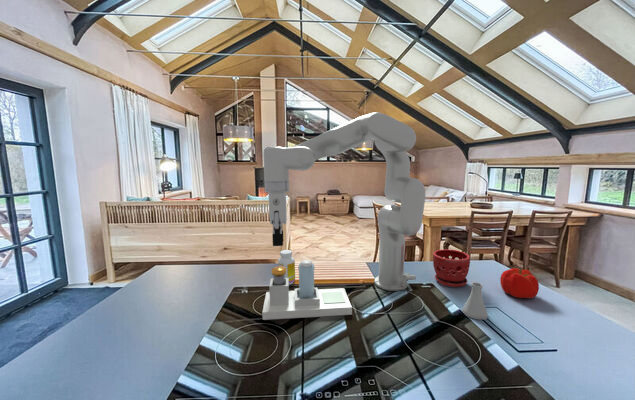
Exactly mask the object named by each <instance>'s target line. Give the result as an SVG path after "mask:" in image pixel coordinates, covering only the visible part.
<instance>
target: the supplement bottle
mask: <svg viewBox="0 0 635 400" xmlns="http://www.w3.org/2000/svg"><path fill="white" fill-rule="evenodd" d="M279 254H280V257H279V258H278V260H277V265H278V266H283V267H285V268H286V274H285V278H289V286H291V285H293V284H294V283H295V282H294V280H295V281H296V263H295V262H296V261H295V257H293V256H292V255H293V251H292V250H290V249H284V250H280V253H279ZM293 282H294V283H293Z"/></svg>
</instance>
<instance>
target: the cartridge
mask: <svg viewBox="0 0 635 400" xmlns="http://www.w3.org/2000/svg"><path fill="white" fill-rule="evenodd" d="M298 288H299V299H306V298H314V288H315V263H313V261H312V260H310V259H304V260H301V261H300V262H299V264H298Z"/></svg>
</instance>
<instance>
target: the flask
mask: <svg viewBox="0 0 635 400" xmlns="http://www.w3.org/2000/svg"><path fill="white" fill-rule="evenodd" d="M470 286H471V290H470V291H471V292H470V295H469V296H468V298H467V300H466V302H465V304H464V306H463V307H462V309H461V312H462V313H463V314H464V315H465V316H466V317H469V318H471V319H474V320H487V319H488V312H487V308H486V305H485V301H484V299H483V294H482V289H483V287H484V284H482V283H480V282H475V281H472V282H471V284H470Z"/></svg>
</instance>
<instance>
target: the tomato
mask: <svg viewBox="0 0 635 400" xmlns="http://www.w3.org/2000/svg"><path fill="white" fill-rule="evenodd" d="M499 279H500V281H499V282H500V287H501V289H502V290H503V292H504V293H505V294H508V295H510V296H512V297H513V298H514V297H515V298H517V299H532V298H535V297H537V295H538V294H539V290H540V285H539V281H538V279H537V277H536V276H535V275H534V274H532V273H531V271H530V270H528V269H524V268H523V269H521V268H520V269H519V268H517V267H516V268H514V267H512V268H510V269H507V270H504V271H503V272H502V273H501V274H500V278H499Z"/></svg>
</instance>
